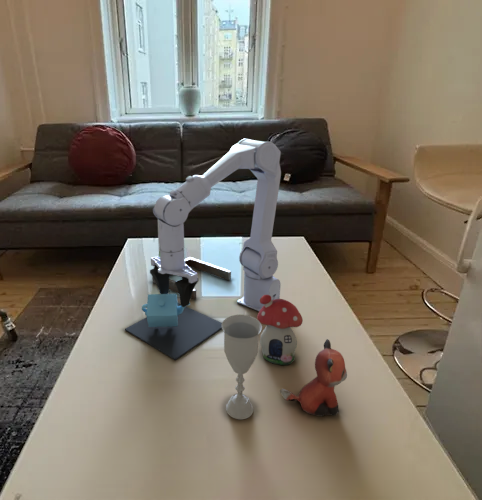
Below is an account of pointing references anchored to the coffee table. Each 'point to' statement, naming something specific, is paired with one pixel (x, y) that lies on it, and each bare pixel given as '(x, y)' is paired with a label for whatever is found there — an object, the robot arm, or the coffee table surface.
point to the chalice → (240, 358)
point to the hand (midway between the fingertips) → (174, 299)
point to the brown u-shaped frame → (203, 267)
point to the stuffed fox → (322, 384)
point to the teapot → (162, 310)
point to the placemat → (177, 333)
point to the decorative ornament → (278, 330)
